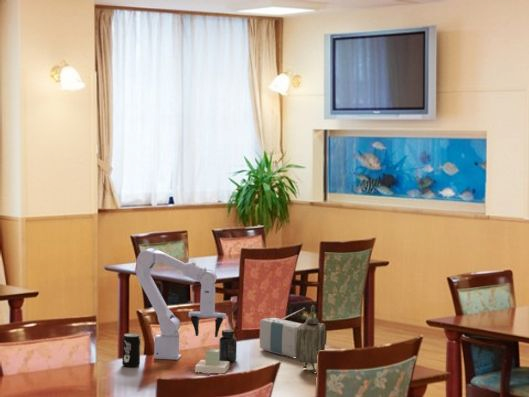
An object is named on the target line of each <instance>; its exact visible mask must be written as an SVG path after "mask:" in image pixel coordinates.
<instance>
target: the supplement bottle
mask: <svg viewBox="0 0 529 397" xmlns="http://www.w3.org/2000/svg"><path fill="white" fill-rule="evenodd" d="M237 340H238V339H237V338H236V337H235V330H233V329H222V330H221V337H220V338H219V340H218V350H220V354H219V361H229V363H234V362H237V350H238V349H237V347H238V346H237V342H238V341H237Z"/></svg>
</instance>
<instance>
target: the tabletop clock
mask: <svg viewBox="0 0 529 397" xmlns="http://www.w3.org/2000/svg"><path fill="white" fill-rule="evenodd" d="M315 308H316V307H315V305H314V304H312V305H311V307H310V316H309V317H308V318H306V320H305V322H304V323H301V325H300V326H299V327H298V329H297V337H296V358H295V359H296V360H297V361H298V362H300V363H304V365H303V366H302V369H303V368H308V367H307V365H308V363H309V364H310V365H311V367H312V369H313V370H312V373H313V372H316V370H317V369H316V368H315V364H317V355H318V351H319V350H325V351H326V323H322V322H321V323H320V322H319V319H318V318H317V317H315V310H316V309H315Z"/></svg>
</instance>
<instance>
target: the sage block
mask: <svg viewBox="0 0 529 397" xmlns="http://www.w3.org/2000/svg"><path fill="white" fill-rule="evenodd" d="M219 354H220V350H219V349H215V348H214V349H213V348H208V349H206V351H205V359H204V360H205V365H218V364H219Z"/></svg>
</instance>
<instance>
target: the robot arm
mask: <svg viewBox="0 0 529 397" xmlns="http://www.w3.org/2000/svg"><path fill="white" fill-rule="evenodd" d="M135 262H136V271H135V272H136V275H135V276H136V278H137V279H138V282H139V284H140V286H141V287H142V289H143V291H144V293H145V295H146V297H147V298H148V301H149V303H150V304H151V306H152V308H153V310H154V311H155V313H156V316H157V321H158V323H159V328H160V329H159V330H160V332H161V333H160V334H156V335H155V337H154V349H153V350H154V352H153V354H154V355H153V359H156V360H157V359H159V360H179V359H180V357H182V354H180V333H179V330H180V327H181V320H180V319H179V318H178V317H176V315H174V312H172V310H170V309H169V307H168V304H167V303H166V301H165V299H164V297H163V296H162V294H161V291H160V289H159V288H158V287H157V286H158V285H157V284H156V283H155V281H154V279H153V277H152V275H151V273H152V270H153V267H154V266H155V265H159V264H160V265H161V264H165V265H167V266H169V267H171V268H174V269H176V270H179V271H181V272H182V275H183V276H184V277H187V278H189V279H192V280H193V281H194V282H198V283H200V285H201V286H200V304H199V311H198V310H196V311H189V312H188V317H189V318H190V321H191V324H192V325H193V329H194V333H195V336H196V337H198V336H199V332H200V331H199V324H200V322H199V321H200V318H208V319H215V321H214V322H215V324H214V325H215V328H214V329H215V331H214V337H215V338H218V336H219V331H220V327H221V325H222V323H223V321H224V320H226V319H227V313H226V312H225V313H224V312H217V311H216V281H217V278H218V276H217V274H216V273H215V271H213V270H212V269H207V268H206V267H202V266H200V265H197V263H196V261H195V262H194V261H191V262H190V261H188V262H186V263H185V262H183V261H182V260H179V259H177V258H175V257H173V256H171V255H170V254H168V253H166V252H163V251H161V250H159V249H155V248H152V247H148V248H146V249H143V250H142V251H140V252H139V254H138V255H137V257H136V260H135Z"/></svg>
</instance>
